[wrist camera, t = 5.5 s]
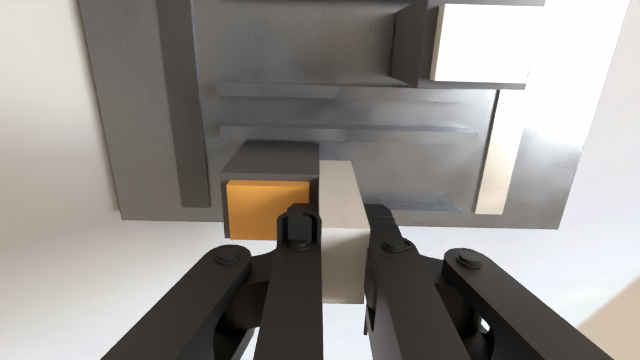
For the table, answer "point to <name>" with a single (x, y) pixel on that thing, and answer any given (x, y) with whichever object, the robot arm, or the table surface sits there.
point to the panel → (339, 107)
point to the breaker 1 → (266, 186)
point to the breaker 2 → (466, 43)
